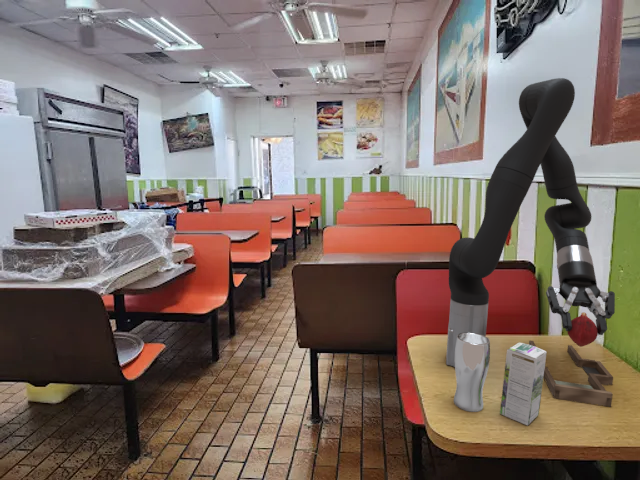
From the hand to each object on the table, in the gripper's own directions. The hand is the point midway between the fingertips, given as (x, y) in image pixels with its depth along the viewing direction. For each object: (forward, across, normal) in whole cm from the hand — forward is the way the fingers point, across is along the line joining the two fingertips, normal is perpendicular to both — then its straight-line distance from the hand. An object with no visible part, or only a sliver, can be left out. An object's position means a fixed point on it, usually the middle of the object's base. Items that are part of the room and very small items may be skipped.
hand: (585, 331), depth 90 cm
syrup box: (+20, -14, +1) cm, 25 cm away
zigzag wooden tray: (+3, 0, +19) cm, 19 cm away
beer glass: (+20, -24, +2) cm, 31 cm away
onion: (+2, 0, +4) cm, 5 cm away
